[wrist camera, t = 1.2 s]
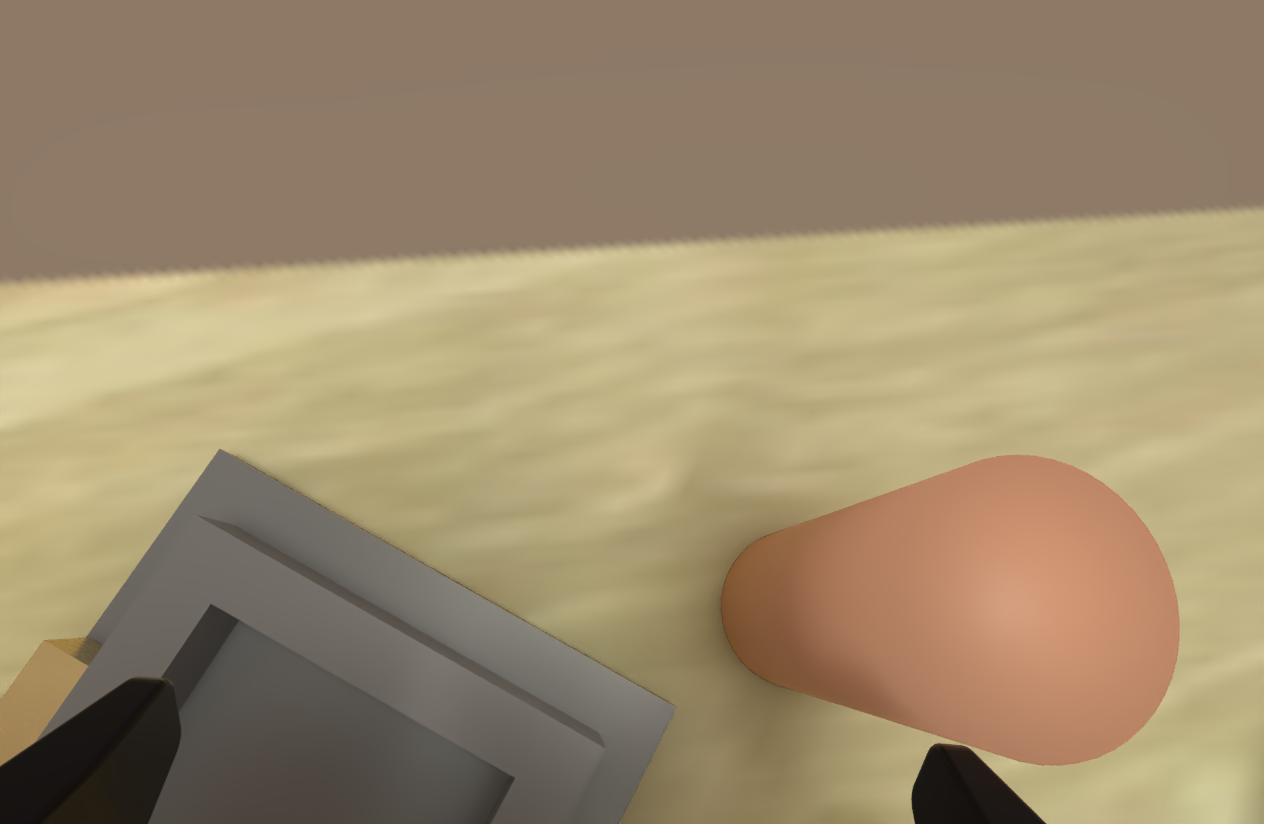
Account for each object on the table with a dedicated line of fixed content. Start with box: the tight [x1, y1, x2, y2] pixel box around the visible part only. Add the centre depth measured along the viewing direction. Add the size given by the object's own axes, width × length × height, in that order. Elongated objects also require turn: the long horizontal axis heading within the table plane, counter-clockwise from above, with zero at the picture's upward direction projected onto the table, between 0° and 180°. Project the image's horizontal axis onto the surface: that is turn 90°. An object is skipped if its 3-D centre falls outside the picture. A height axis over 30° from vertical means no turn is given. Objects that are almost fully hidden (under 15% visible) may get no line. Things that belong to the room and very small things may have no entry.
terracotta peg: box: [721, 455, 1179, 765], centre depth 18 cm, size 4×4×12 cm
